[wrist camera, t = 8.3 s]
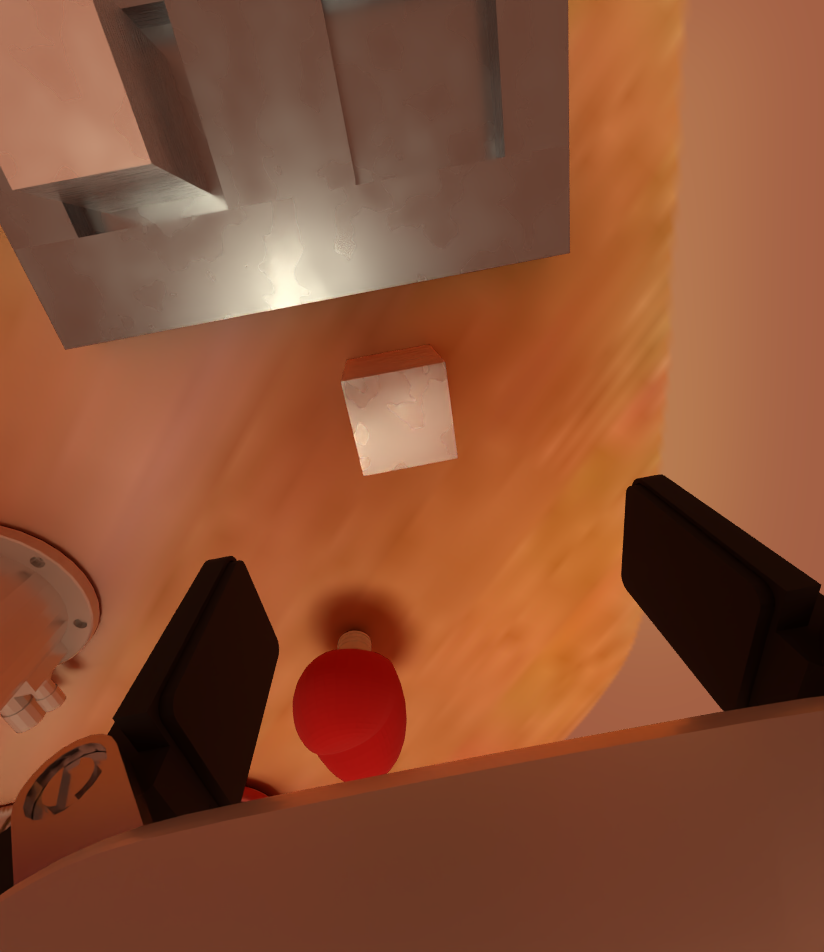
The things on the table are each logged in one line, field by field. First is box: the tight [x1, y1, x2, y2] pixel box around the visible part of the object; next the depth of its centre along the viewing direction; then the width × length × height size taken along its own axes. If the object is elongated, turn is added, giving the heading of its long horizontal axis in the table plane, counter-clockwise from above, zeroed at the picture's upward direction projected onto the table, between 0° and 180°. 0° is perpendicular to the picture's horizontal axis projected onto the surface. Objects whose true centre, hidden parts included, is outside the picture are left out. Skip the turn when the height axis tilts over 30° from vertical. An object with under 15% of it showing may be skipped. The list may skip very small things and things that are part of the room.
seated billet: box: [0, 0, 210, 213], centre depth 17 cm, size 5×5×6 cm
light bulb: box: [293, 631, 406, 782], centre depth 30 cm, size 9×7×10 cm
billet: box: [341, 344, 458, 476], centre depth 24 cm, size 5×5×6 cm
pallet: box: [0, 0, 570, 350], centre depth 19 cm, size 16×26×2 cm, turn 100°
